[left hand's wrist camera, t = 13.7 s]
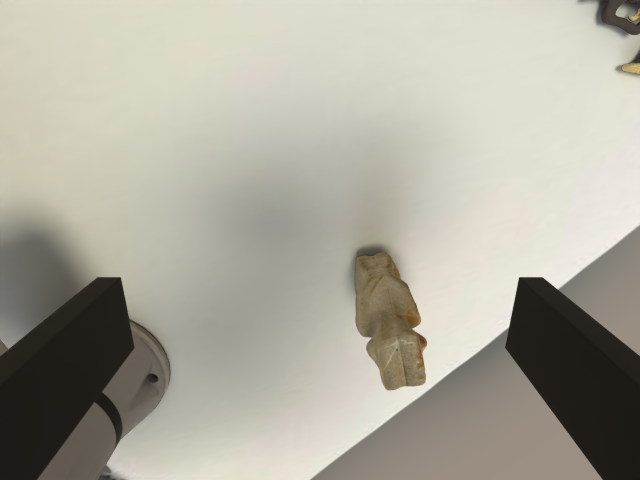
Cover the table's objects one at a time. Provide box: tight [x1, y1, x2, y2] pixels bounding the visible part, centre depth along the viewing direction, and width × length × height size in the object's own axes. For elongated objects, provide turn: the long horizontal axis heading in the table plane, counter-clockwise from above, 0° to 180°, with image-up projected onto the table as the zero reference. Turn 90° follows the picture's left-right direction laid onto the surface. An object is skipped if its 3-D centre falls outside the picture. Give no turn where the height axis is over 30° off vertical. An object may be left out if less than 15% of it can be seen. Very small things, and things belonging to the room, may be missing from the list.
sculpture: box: [355, 252, 427, 390], centre depth 36 cm, size 6×7×15 cm
